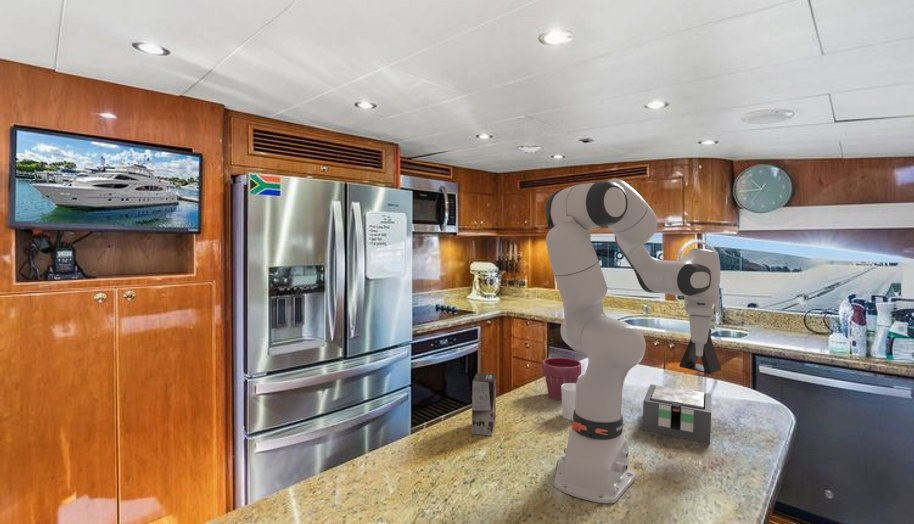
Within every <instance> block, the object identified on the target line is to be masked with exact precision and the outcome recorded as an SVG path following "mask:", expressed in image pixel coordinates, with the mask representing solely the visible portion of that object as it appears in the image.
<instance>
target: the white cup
mask: <svg viewBox="0 0 914 524" xmlns="http://www.w3.org/2000/svg"><path fill="white" fill-rule="evenodd" d="M561 394H562V400H561V409H562V410H561V411H562V412H561V413H562V418H564V419H565V420H568V421H570V422H571V421H572V418H573V413H574V410H575V400H576V383H565V384H562V385H561ZM572 422H573V421H572Z"/></svg>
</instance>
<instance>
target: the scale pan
mask: <svg viewBox="0 0 914 524" xmlns="http://www.w3.org/2000/svg"><path fill="white" fill-rule="evenodd" d="M655 385H656V387H655V390H654V392H653V395H652V397H651V400H652V401H657V402H663V403H669V404H672V405H673V408H675V409H679V407H681V406H686V407H692V408H698V409H703V408H704V393H705V392H704V391H698V390H690V389H684V388H678V387H671V386H666V385H665V386H664V385H658V384H655Z"/></svg>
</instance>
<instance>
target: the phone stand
mask: <svg viewBox="0 0 914 524" xmlns="http://www.w3.org/2000/svg"><path fill="white" fill-rule="evenodd" d="M698 358H699V356H696V346H695V343H693V342H692V340H691V338H690V339H689V342H688V345H687V347H686V349H685V351H684V354H683V356H682V358H681V360H680V363H679V367H680V368H682V369H687V370H691V371H695V372H698V373H704V374H707V375H712V374H714V373H717V372H720V371H721V370H722V367H721V364H720V361H719V358H718V355H717V352H716V349H715V347H714V343H713V340H712V329H711V327H710V328H709V334H708V339H707V343H706V344H704V348H703V356H700V358H701V362H702V364H699V363H697V360H698Z"/></svg>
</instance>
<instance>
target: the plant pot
mask: <svg viewBox="0 0 914 524" xmlns="http://www.w3.org/2000/svg"><path fill="white" fill-rule="evenodd" d="M541 363H542V364H541V365H542V366H541V370H542V373H544V377H545V383H546V384H545V385H546V388H547V393H548V396H549V397H550V398H551V399H552V400H553V399H554V400H557V401H562V394H561V385H562V384H565V383H576V382H577V380H578V378H579V377H580V376H582V362H580V361H579V360H578V359H573V358H569V357H549V358H545V359H543V360H542V362H541Z"/></svg>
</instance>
